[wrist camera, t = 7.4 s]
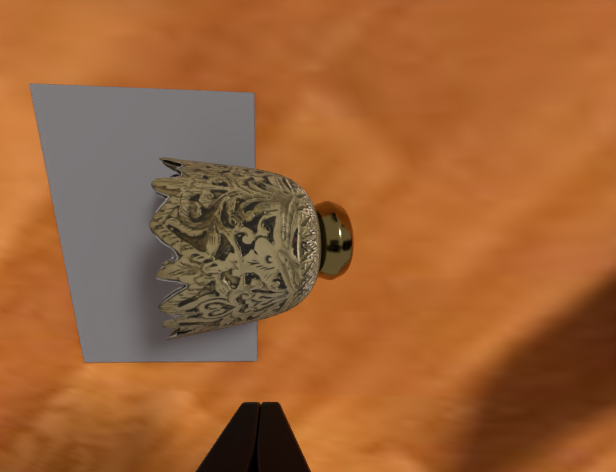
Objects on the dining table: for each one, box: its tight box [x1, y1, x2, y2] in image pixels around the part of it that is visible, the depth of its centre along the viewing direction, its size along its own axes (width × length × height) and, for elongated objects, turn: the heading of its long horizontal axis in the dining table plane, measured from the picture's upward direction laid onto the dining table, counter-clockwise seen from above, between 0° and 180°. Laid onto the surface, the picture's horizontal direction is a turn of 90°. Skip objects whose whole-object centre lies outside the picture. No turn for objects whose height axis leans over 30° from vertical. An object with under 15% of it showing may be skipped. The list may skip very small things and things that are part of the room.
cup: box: [149, 158, 354, 340], centre depth 16 cm, size 8×7×8 cm
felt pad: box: [29, 84, 257, 362], centre depth 19 cm, size 10×15×1 cm, turn 178°
